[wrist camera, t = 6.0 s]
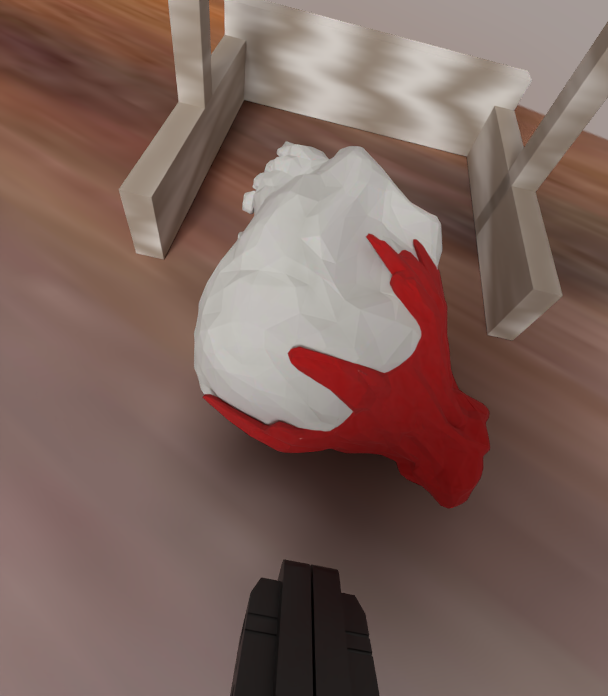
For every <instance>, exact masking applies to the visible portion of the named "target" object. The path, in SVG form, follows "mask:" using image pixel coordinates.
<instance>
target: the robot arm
mask: <svg viewBox="0 0 608 696" xmlns="http://www.w3.org/2000/svg"><path fill="white" fill-rule="evenodd" d="M230 696H379V690H378V684H377V678H376V673H375V667H374V661H373V657H372V649H371V644H370V639H369V632H368V626H367V620H366V615H365V613H364V611H363V609H362V607H361V605H360V604H359V602H358V600H357V598H356V597H355V595H350V594H345V593H341V588H340V579H339V572H338V570H336V569H331V568H326V567H321V566H316V565H311V566H310V565H309V564H305V563H300V562H295V561H289V560H283V562H282V565H281V569H280V573H279V577H278V581H276V580H271V579H266V578H261V579H260V580H259V581H258V583H257V584H256V586H255V587H254V589H253V590H252V591H251V593H250V598H249V602H248V606H247V610H246V615H245V619H244V623H243V627H242V632H241V636H240V641H239V647H238V652H237V658H236V664H235V670H234V676H233V682H232V687H231V693H230Z"/></svg>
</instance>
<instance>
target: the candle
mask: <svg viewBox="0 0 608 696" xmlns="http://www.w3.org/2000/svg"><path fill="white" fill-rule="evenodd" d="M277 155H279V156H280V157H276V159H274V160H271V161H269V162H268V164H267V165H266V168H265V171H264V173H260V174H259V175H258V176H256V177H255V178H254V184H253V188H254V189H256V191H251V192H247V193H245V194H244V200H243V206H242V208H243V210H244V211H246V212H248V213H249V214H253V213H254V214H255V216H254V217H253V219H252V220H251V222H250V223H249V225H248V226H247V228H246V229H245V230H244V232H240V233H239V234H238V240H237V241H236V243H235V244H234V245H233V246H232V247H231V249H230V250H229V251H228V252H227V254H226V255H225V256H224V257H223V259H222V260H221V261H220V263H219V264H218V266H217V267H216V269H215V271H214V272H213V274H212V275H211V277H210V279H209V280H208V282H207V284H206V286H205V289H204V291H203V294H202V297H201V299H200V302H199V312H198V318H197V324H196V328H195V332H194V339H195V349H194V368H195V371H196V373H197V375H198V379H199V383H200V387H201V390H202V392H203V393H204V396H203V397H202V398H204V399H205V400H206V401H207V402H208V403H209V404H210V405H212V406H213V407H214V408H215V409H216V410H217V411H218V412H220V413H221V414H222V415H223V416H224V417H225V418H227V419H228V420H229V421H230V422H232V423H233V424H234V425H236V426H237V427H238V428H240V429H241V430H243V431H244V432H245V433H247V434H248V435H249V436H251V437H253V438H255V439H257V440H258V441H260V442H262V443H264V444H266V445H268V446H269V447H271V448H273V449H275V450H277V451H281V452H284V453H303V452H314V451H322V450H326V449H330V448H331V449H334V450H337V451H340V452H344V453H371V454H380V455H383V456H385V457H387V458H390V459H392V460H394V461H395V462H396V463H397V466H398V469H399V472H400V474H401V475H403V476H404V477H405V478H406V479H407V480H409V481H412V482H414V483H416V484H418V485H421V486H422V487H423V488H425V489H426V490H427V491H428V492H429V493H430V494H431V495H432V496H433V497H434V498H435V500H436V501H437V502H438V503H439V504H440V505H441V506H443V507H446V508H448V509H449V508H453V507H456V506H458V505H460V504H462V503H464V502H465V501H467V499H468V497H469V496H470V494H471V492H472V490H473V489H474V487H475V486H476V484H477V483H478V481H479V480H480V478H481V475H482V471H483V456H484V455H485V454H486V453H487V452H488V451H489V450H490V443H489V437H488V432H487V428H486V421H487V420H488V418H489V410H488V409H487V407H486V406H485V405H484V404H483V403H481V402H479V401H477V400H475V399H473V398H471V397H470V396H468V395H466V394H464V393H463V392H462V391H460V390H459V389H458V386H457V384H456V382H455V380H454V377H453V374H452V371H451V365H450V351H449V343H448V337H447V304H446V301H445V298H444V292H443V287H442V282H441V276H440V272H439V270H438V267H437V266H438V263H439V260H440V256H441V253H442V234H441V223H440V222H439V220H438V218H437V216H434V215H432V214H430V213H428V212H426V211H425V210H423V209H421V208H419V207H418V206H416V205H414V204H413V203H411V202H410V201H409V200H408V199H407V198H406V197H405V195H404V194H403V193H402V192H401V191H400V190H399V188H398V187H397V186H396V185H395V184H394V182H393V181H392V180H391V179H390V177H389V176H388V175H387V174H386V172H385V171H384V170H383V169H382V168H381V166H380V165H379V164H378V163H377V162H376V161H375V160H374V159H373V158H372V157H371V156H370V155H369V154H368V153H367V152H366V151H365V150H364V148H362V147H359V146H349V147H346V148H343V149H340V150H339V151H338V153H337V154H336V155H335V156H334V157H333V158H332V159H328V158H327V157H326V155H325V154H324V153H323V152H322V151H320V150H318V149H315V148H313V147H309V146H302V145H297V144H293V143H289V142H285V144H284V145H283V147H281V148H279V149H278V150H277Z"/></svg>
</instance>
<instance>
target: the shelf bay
mask: <svg viewBox="0 0 608 696" xmlns="http://www.w3.org/2000/svg"><path fill="white" fill-rule="evenodd" d="M168 3H169V13H170V22H171V32H172V41H173V51H174V60H175V70H176V80H177V89H178V99H179V102H178V104H177V105H176V107H175V108H174V110H173V111H172V113H171V114H170V116H169V117H168V118H167V120H166V121H165V123H164V124H163V126H162V127H161V129H160V130H159V132H158V133H157V135H156V136H155V137H154V139H153V140H152V142H151V143H150V145H149V146H148V148H147V149H146V151H145V152H144V153H143V155H142V156H141V158H140V159H139V161H138V162H137V164H136V165H135V167H134V168H133V170H132V171H131V172H130V174H129V175H128V177H127V178H126V180H125V181H124V183H123V184H122V186H121V187H120V188H119V192H120V196H121V200H122V203H123V207H124V210H125V214H126V218H127V221H128V225H129V228H130V232H131V236H132V239H133V243H134V247H135V250H136V253H138V254H143V255H147V256H151V257H156V258H160V259H164V258H165V256H166V254H167V252H168V250H169V248H170V246H171V244H172V242H173V240H174V238H175V236H176V234H177V232H178V230H179V228H180V226H181V224H182V222H183V220H184V218H185V216H186V214H187V212H188V210H189V208H190V206H191V204H192V202H193V200H194V198H195V196H196V194H197V192H198V190H199V188H200V186H201V184H202V182H203V180H204V178H205V176H206V174H207V172H208V170H209V168H210V166H211V164H212V162H213V160H214V158H215V156H216V154H217V153H218V151H219V149H220V147H221V145H222V143H223V141H224V139H225V137H226V135H227V133H228V131H229V129H230V127H231V125H232V123H233V121H234V119H235V117H236V115H237V113H238V111H239V109H240V107H241V105H242V103H243V101H244V100H247V101H251V102H255V103H259V104H263V105H267V106H270V107H274V108H278V109H282V110H286V111H290V112H294V113H298V114H302V115H306V116H310V117H314V118H318V119H322V120H325V121H329V122H333V123H337V124H341V125H345V126H349V127H353V128H357V129H361V130H365V131H369V132H373V133H376V134H380V135H384V136H388V137H392V138H396V139H400V140H404V141H408V142H412V143H416V144H420V145H424V146H428V147H431V148H435V149H439V150H443V151H447V152H451V153H455V154H459V155H463V156H467V162H468V171H469V180H470V188H471V197H472V205H473V214H474V223H475V231H476V240H477V249H478V257H479V266H480V274H481V283H482V292H483V300H484V309H485V318H486V326H487V335H491V336H495V337H499V338H504V339H508V340H512V341H513V340H514V339H515V338H516V337H517V336H518V335H519V334H521V333H522V332H523V331H524V330H525V329H526V328H527V327H528V326H530V325H531V324H532V323H533V322H534V321H535V320H536V319H538V318H539V317H540V316H541V315H542V314H543V313H544V312H545V311H547V310H548V309H549V308H550V307H551V306H552V305H553V304H554V303H556V302H557V301H558V300H559V299H560V298H561V297H562V296H563V295H562V291H561V288H560V284H559V280H558V276H557V272H556V268H555V265H554V261H553V257H552V253H551V249H550V246H549V242H548V238H547V234H546V230H545V226H544V223H543V219H542V215H541V211H540V207H539V204H538V200H537V196H536V191H537V189H538V188H539V187H540V185H541V184H542V183H543V181H544V180H545V179H546V177H547V176H548V175H549V174H550V172H551V171H552V170H553V168H554V167H555V166H556V164H557V163H558V162H559V160H560V159H561V158H562V157H563V155H564V154H565V153H566V151H567V150H568V149H569V147H570V146H571V145H572V144H573V142H574V141H575V140H576V138H577V137H578V136H579V134H580V133H581V132H582V130H583V129H584V128H585V126H586V125H587V124H588V123H589V121H590V120H591V118H592V117H593V116H594V115H595V113H596V112H597V111H598V110H599V108H600V107H601V105H602V104H603V103H604V102H605V100H606V99H607V98H608V22H607V24H606V25H605V27H604V28H603V30H602V31H601V33H600V34H599V36H598V37H597V39H596V40H595V42H594V44H593V45H592V46H591V48H590V49H589V51H588V52H587V54H586V55H585V57H584V58H583V60H582V61H581V63H580V64H579V66H578V67H577V69H576V70H575V72H574V73H573V75H572V76H571V78H570V79H569V81H568V82H567V84H566V85H565V87H564V88H563V90H562V91H561V93H560V94H559V96H558V98H557V99H556V100H555V102H554V103H553V105H552V106H551V108H550V110H549V111H548V113H547V114H546V115H545V117H544V118H543V120H542V121H541V123H540V124H539V126H538V128H537V129H536V131H535V132H534V134H533V135H532V137H531V138H530V140H529V141H528V143H527V144H526V146H525V147H524V146H523V143H522V139H521V135H520V131H519V127H518V123H517V120H516V116H515V112H514V110H515V108H516V107H517V105H518V103H519V101H520V100H521V98H522V96H523V95H524V93H525V91H526V90H527V88H528V86H529V85H530V83H531V81H532V80H531V77H530V74H529V71H526V70H522V69H519V68H515V67H511V66H508V65H504V64H500V63H496V62H493V61H489V60H485V59H481V58H478V57H474V56H470V55H466V54H462V53H459V52H455V51H452V50H448V49H444V48H440V47H436V46H433V45H429V44H425V43H421V42H418V41H414V40H410V39H407V38H403V37H399V36H395V35H392V34H388V33H384V32H380V31H377V30H373V29H369V28H366V27H362V26H358V25H354V24H350V23H346V22H343V21H339V20H336V19H332V18H328V17H324V16H321V15H317V14H313V13H310V12H305V11H302V10H298V9H295V8H291V7H287V6H283V5H279V4H276V3H272V2H268V1H265V0H225V35H224V37H223V38H222V40H221V41H220V43H219V44H218V46H217V47H216V48H215V50H214V51H213V53H212V54H211V46H210V18H209V0H168Z"/></svg>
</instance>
